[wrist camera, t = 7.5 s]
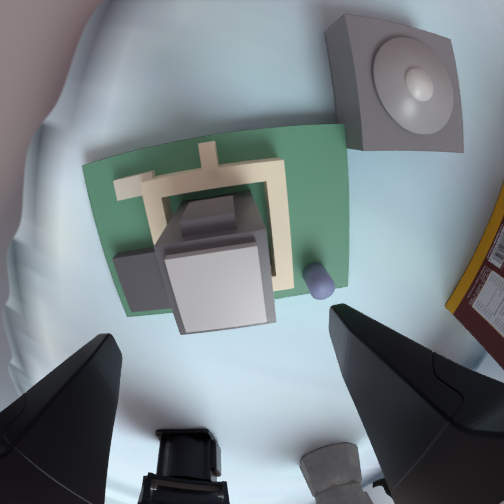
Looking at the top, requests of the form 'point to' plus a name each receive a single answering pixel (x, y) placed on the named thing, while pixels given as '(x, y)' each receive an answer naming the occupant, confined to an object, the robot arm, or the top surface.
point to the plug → (217, 264)
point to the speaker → (394, 86)
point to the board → (224, 182)
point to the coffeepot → (337, 475)
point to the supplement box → (484, 288)
